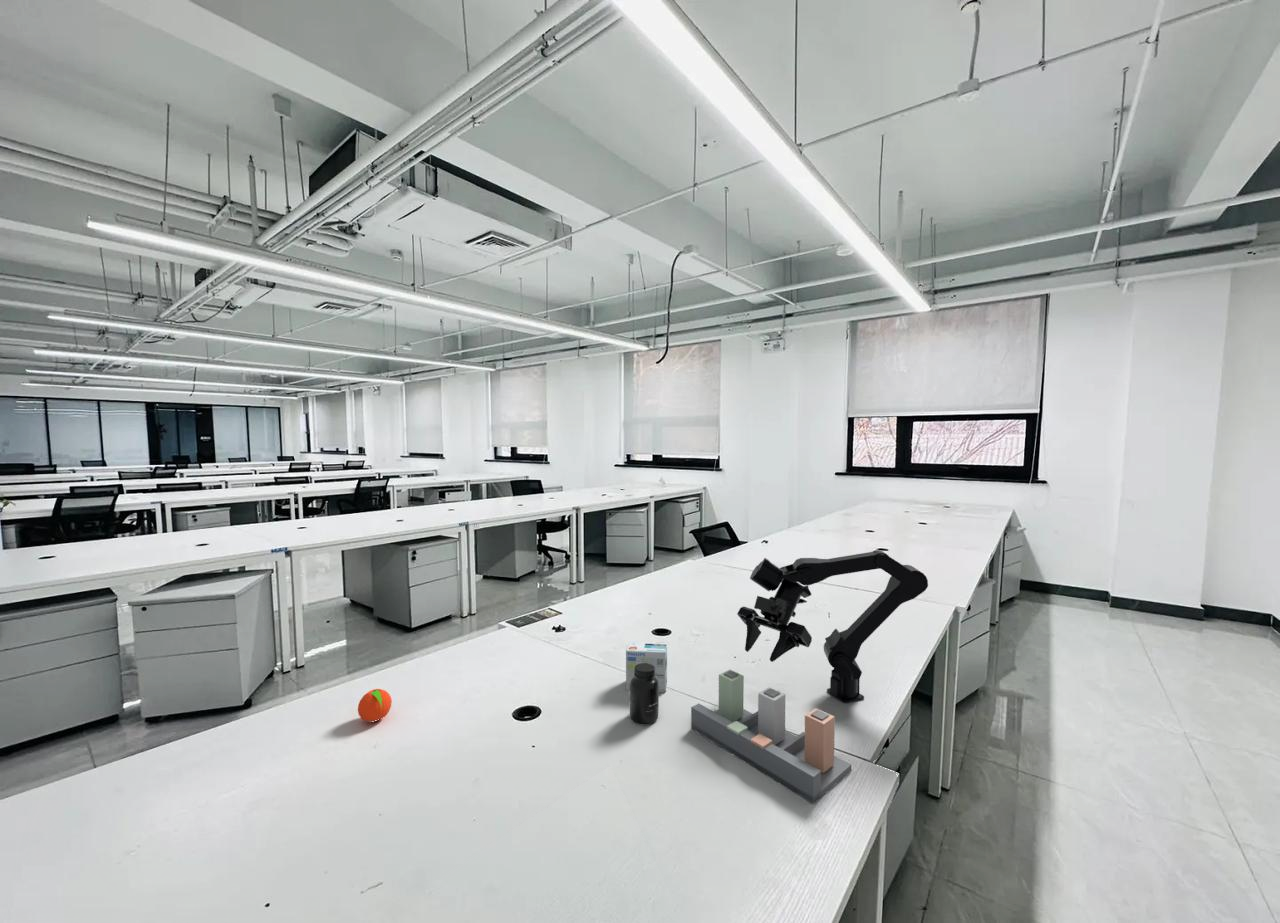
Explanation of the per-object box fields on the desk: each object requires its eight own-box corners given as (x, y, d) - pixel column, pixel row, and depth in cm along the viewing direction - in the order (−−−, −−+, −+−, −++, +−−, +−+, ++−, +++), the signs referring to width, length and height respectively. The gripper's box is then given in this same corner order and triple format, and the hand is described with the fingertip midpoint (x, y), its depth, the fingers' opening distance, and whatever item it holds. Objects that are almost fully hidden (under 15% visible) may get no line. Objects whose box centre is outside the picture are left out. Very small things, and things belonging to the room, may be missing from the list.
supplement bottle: (656, 727, 109) (656, 675, 109) (626, 724, 111) (626, 672, 110) (660, 711, 116) (660, 662, 116) (633, 708, 118) (633, 659, 117)
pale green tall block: (729, 709, 114) (730, 668, 114) (743, 716, 111) (743, 674, 111) (718, 715, 112) (718, 673, 112) (732, 722, 109) (732, 679, 108)
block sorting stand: (731, 707, 118) (731, 685, 118) (851, 770, 95) (851, 743, 95) (690, 729, 109) (690, 705, 109) (812, 804, 86) (812, 774, 86)
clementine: (398, 721, 112) (398, 691, 112) (365, 734, 107) (365, 702, 107) (385, 708, 117) (385, 679, 117) (353, 720, 112) (353, 690, 112)
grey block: (769, 729, 106) (769, 685, 106) (785, 738, 103) (785, 693, 103) (758, 736, 103) (758, 691, 103) (773, 745, 100) (774, 699, 100)
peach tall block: (815, 754, 98) (815, 706, 97) (834, 764, 94) (834, 715, 94) (804, 762, 95) (804, 713, 95) (823, 773, 92) (823, 722, 92)
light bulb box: (667, 680, 132) (667, 641, 131) (666, 693, 125) (666, 652, 124) (628, 678, 133) (628, 640, 132) (625, 691, 126) (625, 650, 126)
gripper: (742, 575, 128) (713, 626, 121) (806, 592, 113) (778, 651, 107) (759, 599, 133) (733, 649, 126) (823, 618, 119) (797, 676, 112)
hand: (758, 655), depth 118 cm, fingers open, 7 cm apart
